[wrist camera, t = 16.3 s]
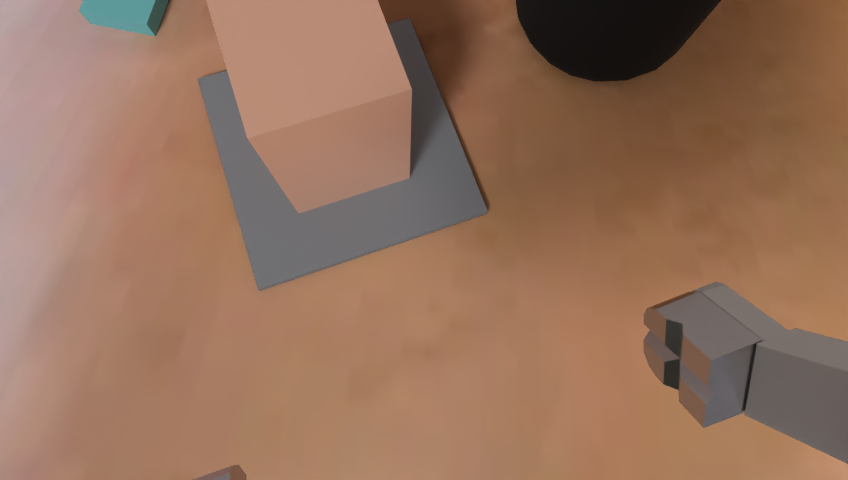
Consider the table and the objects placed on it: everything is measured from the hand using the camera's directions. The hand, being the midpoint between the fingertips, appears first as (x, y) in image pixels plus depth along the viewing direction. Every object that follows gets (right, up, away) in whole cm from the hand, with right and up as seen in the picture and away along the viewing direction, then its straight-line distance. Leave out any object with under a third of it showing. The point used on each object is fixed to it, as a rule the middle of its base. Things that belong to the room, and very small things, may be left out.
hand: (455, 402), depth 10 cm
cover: (-5, +8, +19) cm, 22 cm away
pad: (-5, +8, +20) cm, 22 cm away
